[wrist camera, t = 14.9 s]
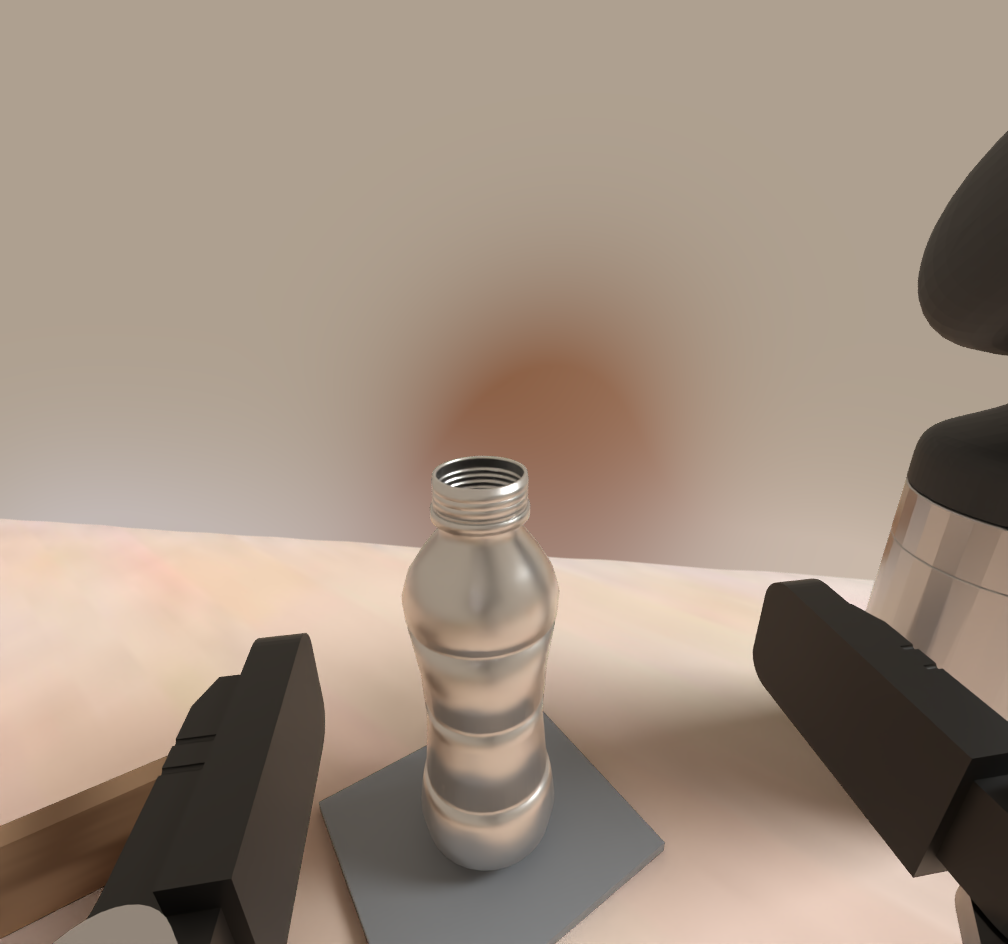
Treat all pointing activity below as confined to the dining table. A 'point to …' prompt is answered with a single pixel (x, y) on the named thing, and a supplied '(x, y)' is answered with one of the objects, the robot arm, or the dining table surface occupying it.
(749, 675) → the dining table surface
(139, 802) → the walnut sleeve
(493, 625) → the silver aluminum bottle
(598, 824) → the rubber mat
